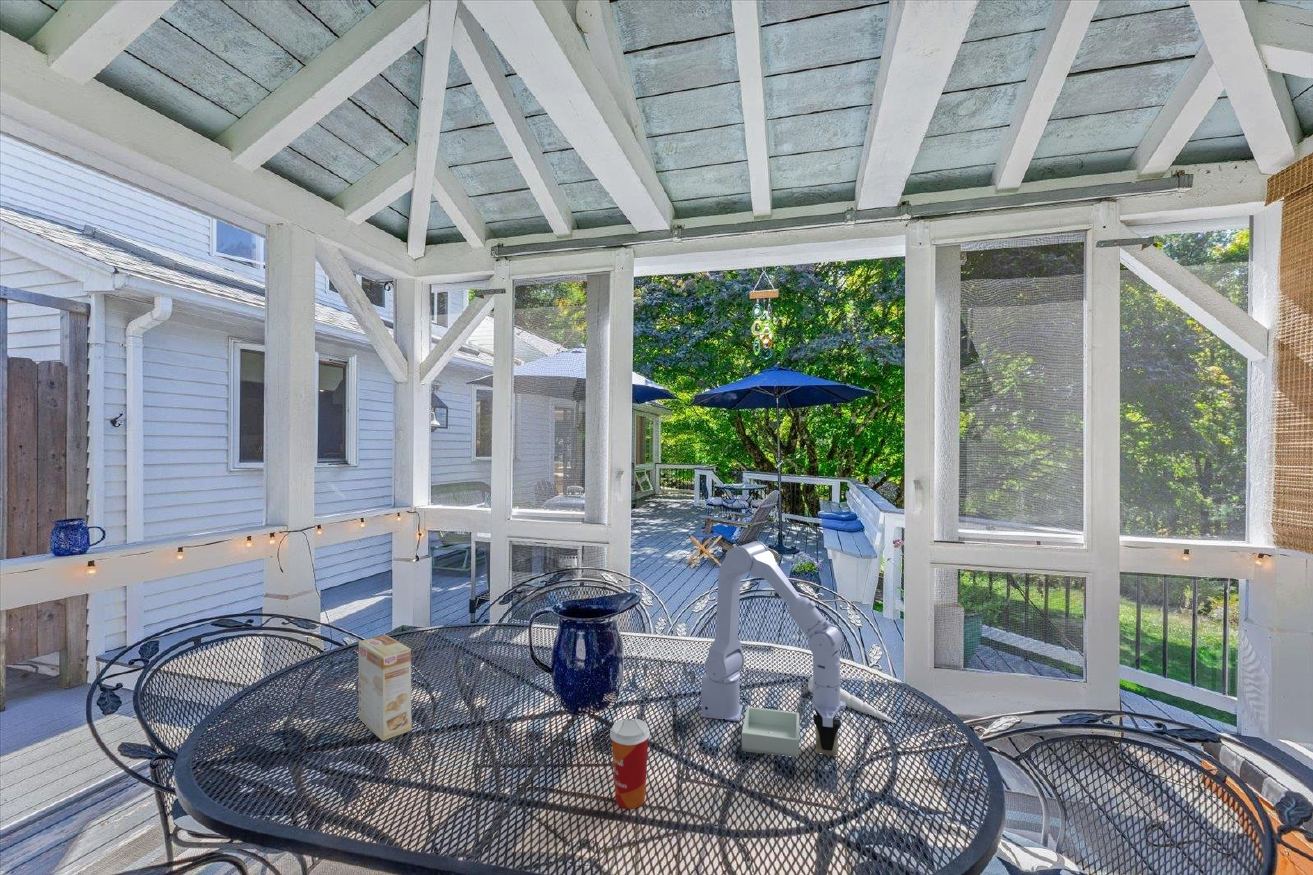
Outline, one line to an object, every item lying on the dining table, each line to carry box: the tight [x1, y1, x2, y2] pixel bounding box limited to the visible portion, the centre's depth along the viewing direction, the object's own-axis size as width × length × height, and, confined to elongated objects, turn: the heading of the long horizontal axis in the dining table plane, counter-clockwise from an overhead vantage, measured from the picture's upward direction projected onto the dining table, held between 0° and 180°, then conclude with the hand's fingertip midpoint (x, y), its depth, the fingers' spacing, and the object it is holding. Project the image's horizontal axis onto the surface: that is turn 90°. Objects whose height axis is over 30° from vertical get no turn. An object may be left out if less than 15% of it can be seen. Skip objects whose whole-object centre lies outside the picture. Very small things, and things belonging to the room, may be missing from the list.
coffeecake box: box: [357, 634, 413, 742], centre depth 136 cm, size 15×7×20 cm, turn 47°
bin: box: [741, 706, 800, 759], centre depth 128 cm, size 12×12×4 cm
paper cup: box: [609, 718, 651, 810], centre depth 108 cm, size 8×8×14 cm
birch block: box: [815, 726, 839, 756], centre depth 124 cm, size 4×4×6 cm
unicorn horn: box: [807, 675, 897, 725], centre depth 144 cm, size 5×24×5 cm, turn 36°
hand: (826, 743), depth 124 cm, fingers closed on birch block, 4 cm apart
